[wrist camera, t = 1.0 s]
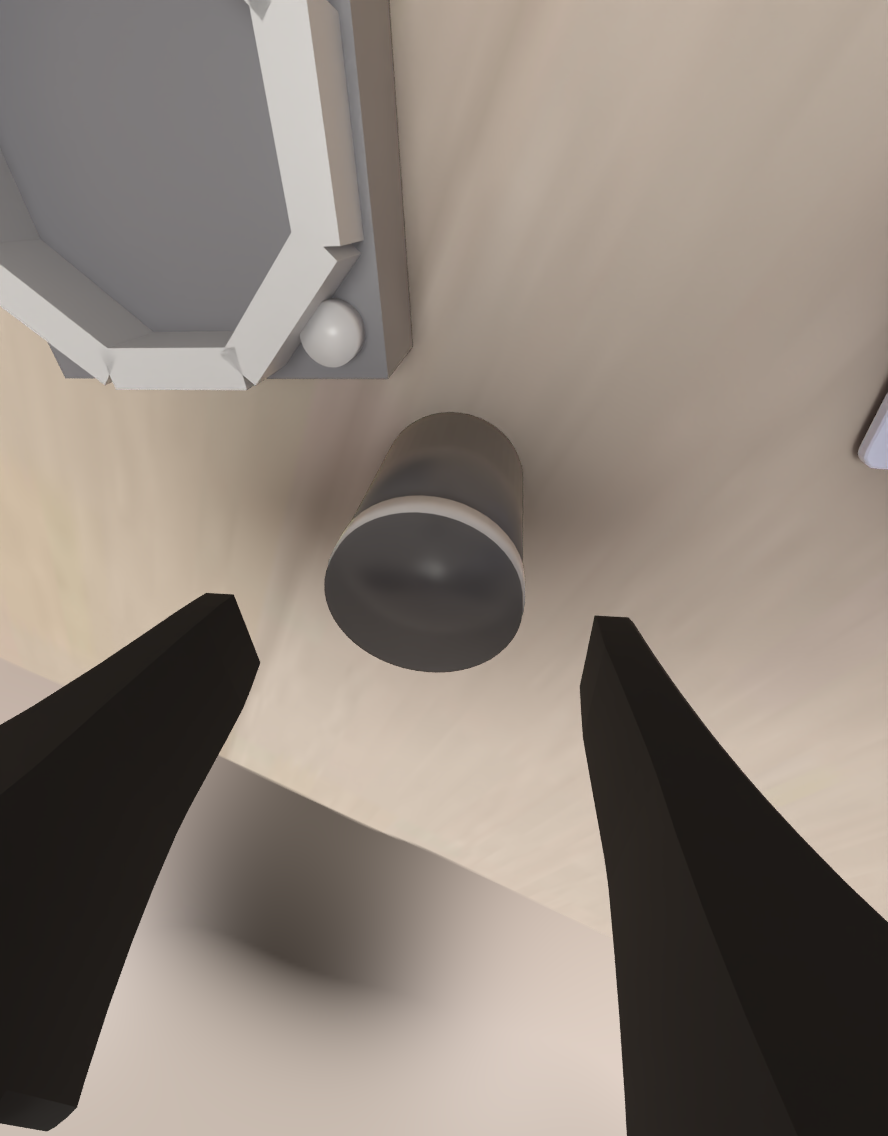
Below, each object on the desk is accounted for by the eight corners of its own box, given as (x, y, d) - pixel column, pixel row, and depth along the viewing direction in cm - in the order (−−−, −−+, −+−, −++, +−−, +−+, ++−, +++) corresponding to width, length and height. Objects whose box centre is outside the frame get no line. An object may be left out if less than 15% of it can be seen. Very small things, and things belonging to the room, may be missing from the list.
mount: (377, -159, 8) (266, -433, 5) (412, 346, 13) (371, 401, 9) (-31, -101, 9) (-380, -292, 6) (142, 348, 14) (13, 398, 10)
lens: (529, 411, 14) (532, 522, 9) (520, 542, 16) (518, 680, 12) (375, 409, 14) (302, 513, 10) (391, 536, 17) (340, 666, 12)
